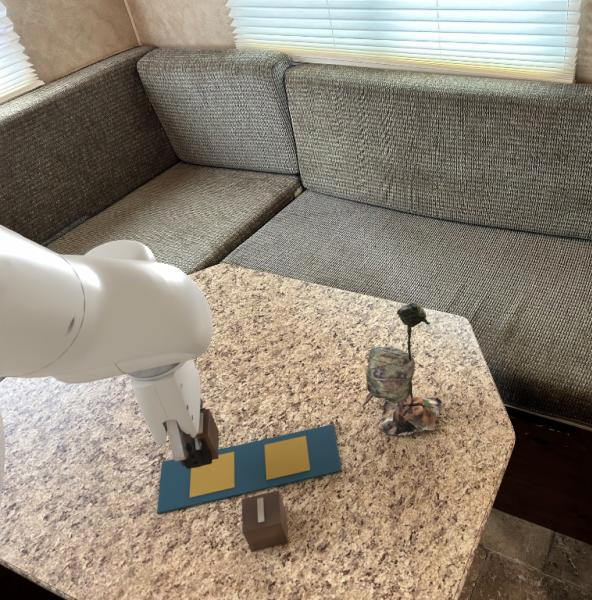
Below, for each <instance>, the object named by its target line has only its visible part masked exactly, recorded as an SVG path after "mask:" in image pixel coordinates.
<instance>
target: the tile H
mask: <svg viewBox="0 0 592 600" xmlns="http://www.w3.org/2000/svg"><path fill="white" fill-rule="evenodd" d="M198 435H199V438H200V441H204V442H205V444H206V446H207V449H208V451H209V453H210V455H211V457H212V460H214V459H218V458H219V449H220V448H219V446H220V430H219V428H218V425H217V423H216V420H215V419H214V417H213V414H212V412H211V409H210V408H205V410H200V418H199V430H198ZM183 438H184V442H187V441H192V437H190V435H187V436H183ZM180 463H181V465H182V466H185V465H184V463H183V461H182V460H180Z"/></svg>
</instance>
